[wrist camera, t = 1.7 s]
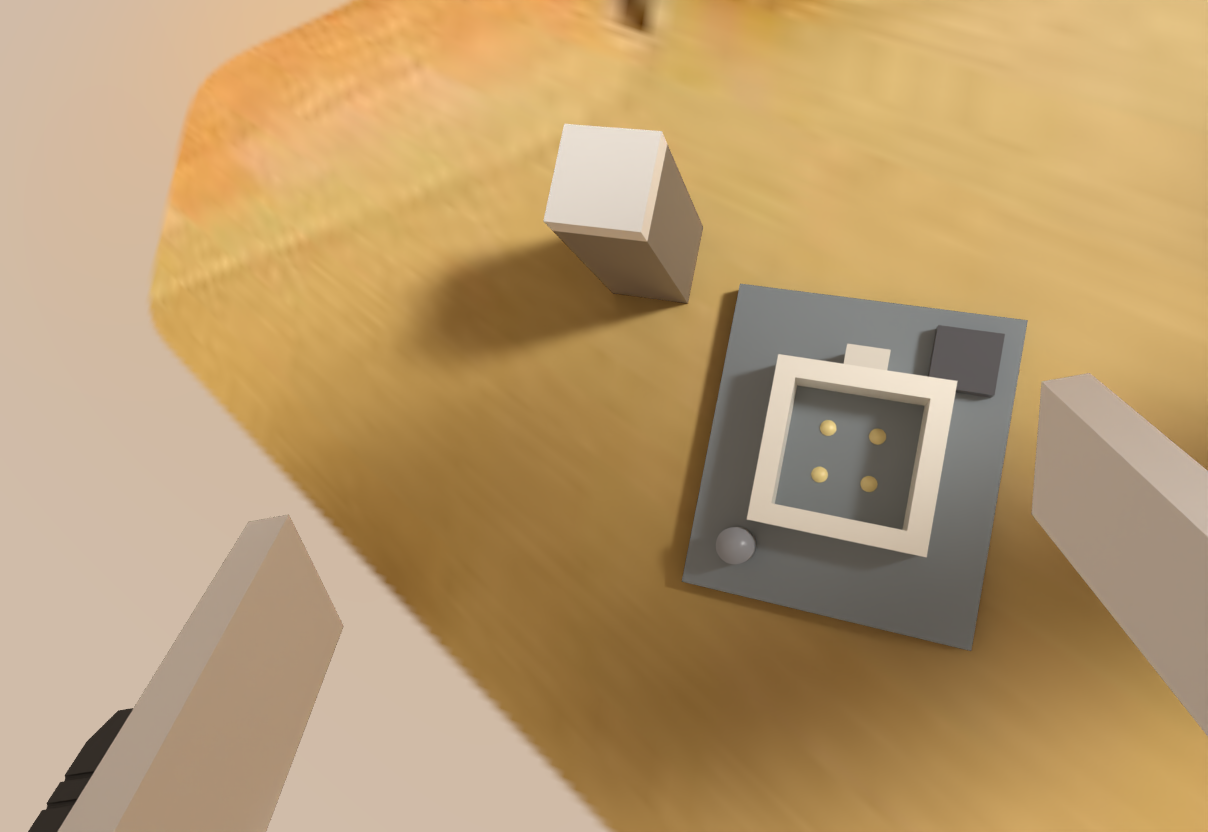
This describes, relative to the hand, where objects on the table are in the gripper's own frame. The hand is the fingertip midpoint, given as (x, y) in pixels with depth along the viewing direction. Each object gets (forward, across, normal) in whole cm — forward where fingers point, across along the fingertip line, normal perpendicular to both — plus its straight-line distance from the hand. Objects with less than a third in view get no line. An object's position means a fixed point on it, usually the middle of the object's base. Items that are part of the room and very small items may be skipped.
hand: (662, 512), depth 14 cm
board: (+23, +9, -16) cm, 29 cm away
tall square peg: (+32, +1, -6) cm, 33 cm away
